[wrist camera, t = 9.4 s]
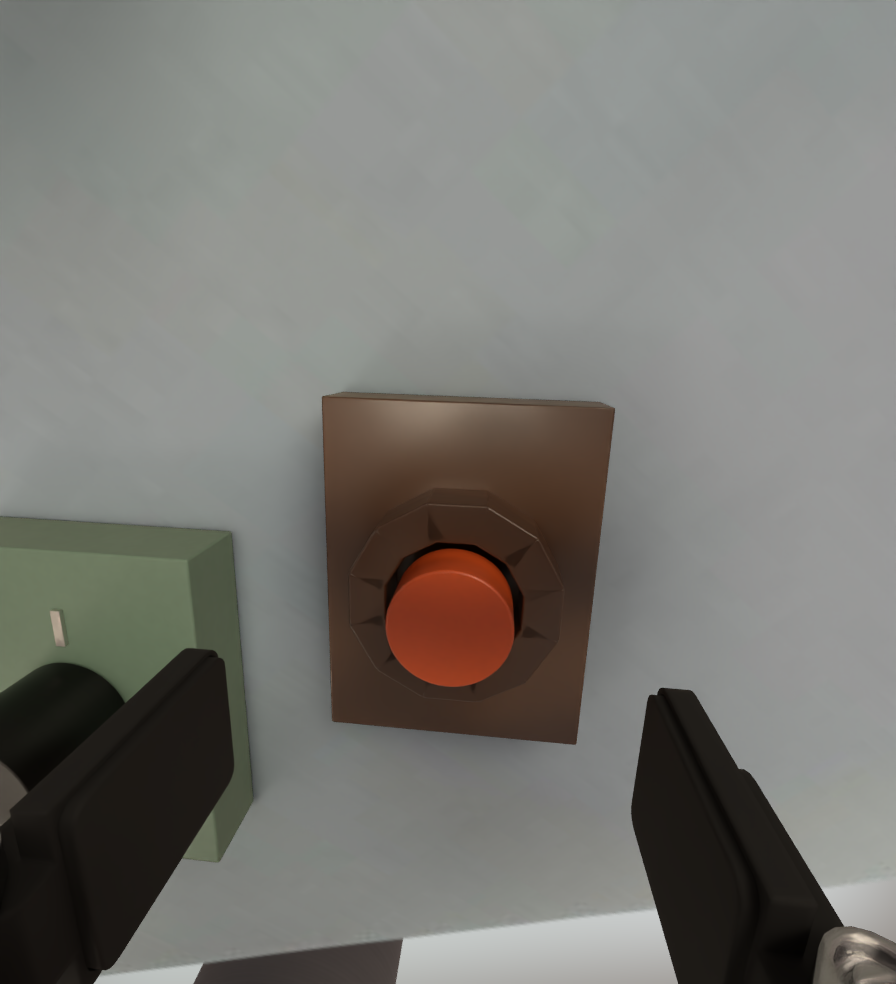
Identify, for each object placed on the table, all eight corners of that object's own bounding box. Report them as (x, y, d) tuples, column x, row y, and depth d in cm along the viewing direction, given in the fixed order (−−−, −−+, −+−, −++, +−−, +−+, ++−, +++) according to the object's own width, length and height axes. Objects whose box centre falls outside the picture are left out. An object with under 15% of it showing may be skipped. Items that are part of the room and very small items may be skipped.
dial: (123, 667, 18) (12, 758, 14) (139, 768, 19) (40, 880, 15) (10, 657, 18) (-131, 743, 14) (31, 757, 20) (-93, 864, 15)
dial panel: (254, 800, 23) (217, 867, 20) (50, 778, 24) (-15, 839, 21) (232, 530, 20) (183, 561, 17) (-4, 515, 21) (-92, 542, 18)
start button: (508, 658, 16) (510, 693, 14) (396, 649, 16) (384, 682, 15) (516, 551, 15) (518, 575, 13) (396, 543, 15) (384, 566, 14)
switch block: (568, 705, 20) (584, 786, 16) (348, 685, 21) (314, 758, 17) (601, 401, 17) (630, 414, 13) (341, 391, 18) (299, 400, 14)
